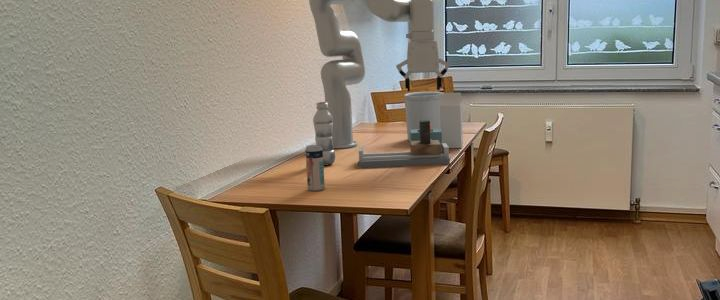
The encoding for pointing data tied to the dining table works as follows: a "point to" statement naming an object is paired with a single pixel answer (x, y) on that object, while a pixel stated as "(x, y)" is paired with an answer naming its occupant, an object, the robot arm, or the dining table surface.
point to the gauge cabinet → (434, 135)
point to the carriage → (425, 141)
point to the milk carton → (451, 119)
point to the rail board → (402, 158)
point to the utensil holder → (422, 109)
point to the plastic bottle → (324, 132)
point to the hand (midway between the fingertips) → (423, 90)
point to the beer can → (315, 167)
